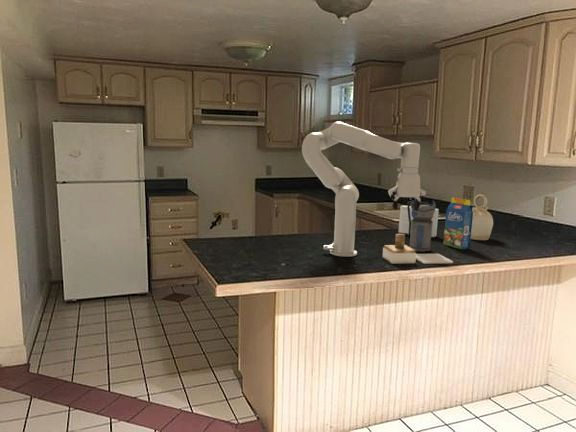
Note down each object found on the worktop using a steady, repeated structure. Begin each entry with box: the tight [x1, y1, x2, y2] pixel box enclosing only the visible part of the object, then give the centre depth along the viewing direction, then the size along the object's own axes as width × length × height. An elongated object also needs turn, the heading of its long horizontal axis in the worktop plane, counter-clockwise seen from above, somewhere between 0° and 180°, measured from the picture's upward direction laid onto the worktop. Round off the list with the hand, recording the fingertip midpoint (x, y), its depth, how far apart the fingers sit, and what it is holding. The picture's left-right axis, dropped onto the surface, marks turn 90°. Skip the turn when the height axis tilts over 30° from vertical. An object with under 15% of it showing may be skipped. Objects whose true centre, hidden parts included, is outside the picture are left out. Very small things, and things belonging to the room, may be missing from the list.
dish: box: [382, 247, 417, 264], centre depth 208 cm, size 11×11×4 cm
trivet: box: [416, 253, 454, 265], centre depth 212 cm, size 14×14×1 cm
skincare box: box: [398, 205, 440, 238], centre depth 267 cm, size 21×6×16 cm, turn 58°
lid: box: [383, 233, 416, 253], centre depth 207 cm, size 10×10×7 cm
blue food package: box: [442, 197, 473, 250], centre depth 238 cm, size 6×12×25 cm, turn 28°
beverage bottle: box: [406, 200, 437, 253], centre depth 228 cm, size 10×13×25 cm
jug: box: [471, 194, 494, 241], centre depth 261 cm, size 15×16×25 cm
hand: (405, 209), depth 207 cm, fingers open, 9 cm apart
